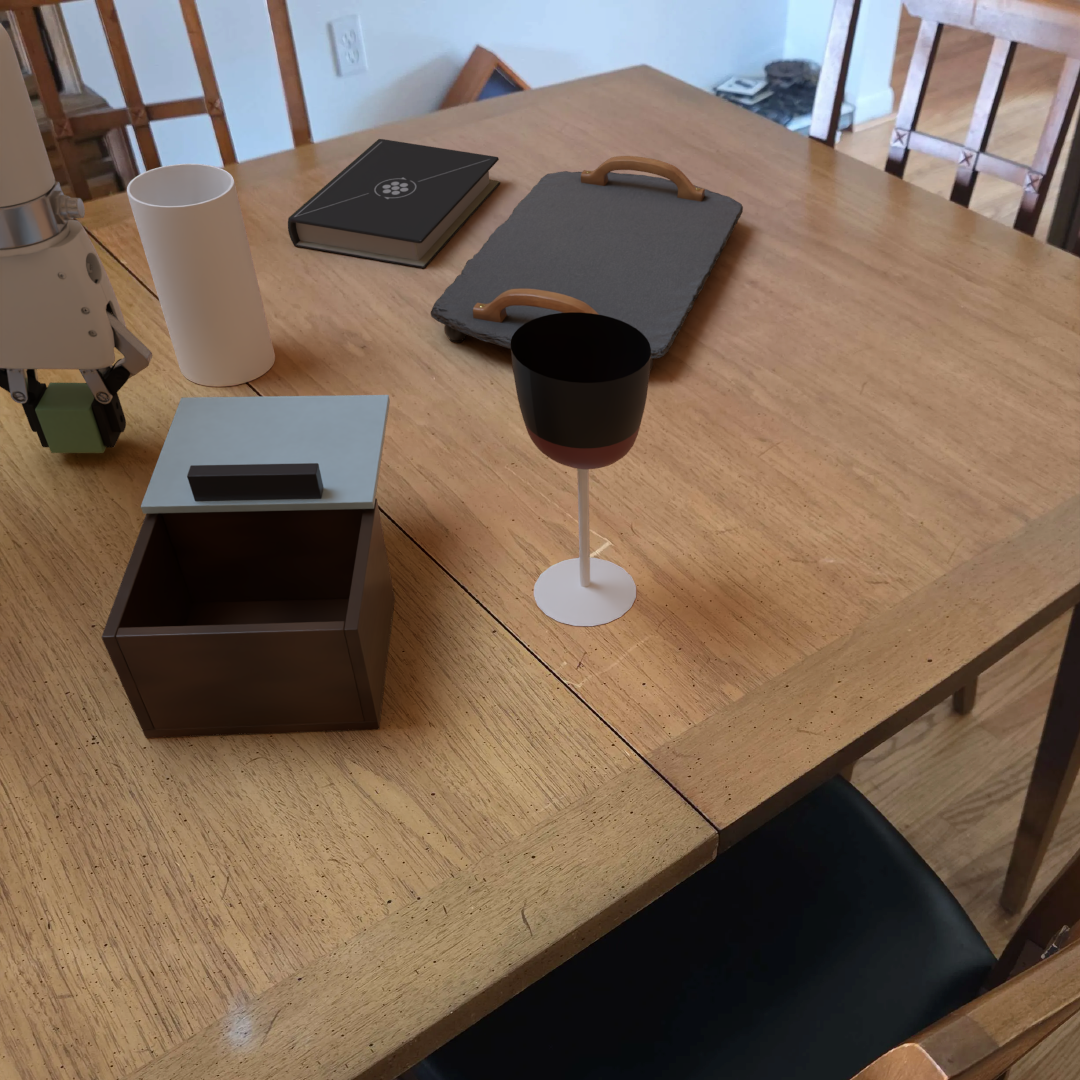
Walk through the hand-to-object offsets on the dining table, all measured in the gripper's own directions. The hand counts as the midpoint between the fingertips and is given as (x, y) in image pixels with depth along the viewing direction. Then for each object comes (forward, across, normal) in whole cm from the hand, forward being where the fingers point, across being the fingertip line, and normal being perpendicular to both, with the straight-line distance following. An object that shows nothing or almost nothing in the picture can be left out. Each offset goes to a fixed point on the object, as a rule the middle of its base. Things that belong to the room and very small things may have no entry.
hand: (83, 435), depth 93 cm
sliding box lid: (-8, -18, +14) cm, 24 cm away
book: (0, -22, -44) cm, 49 cm away
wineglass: (+1, -40, +18) cm, 44 cm away
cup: (+1, -9, -14) cm, 16 cm away
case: (+2, -19, +25) cm, 31 cm away
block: (0, 0, 0) cm, 0 cm away
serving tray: (0, -43, -29) cm, 51 cm away
